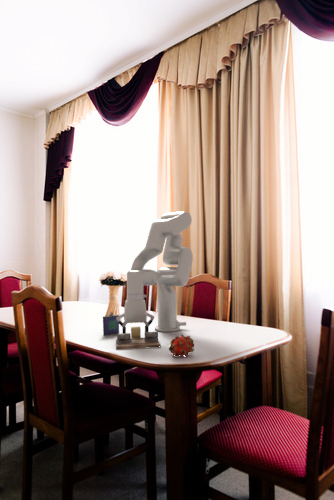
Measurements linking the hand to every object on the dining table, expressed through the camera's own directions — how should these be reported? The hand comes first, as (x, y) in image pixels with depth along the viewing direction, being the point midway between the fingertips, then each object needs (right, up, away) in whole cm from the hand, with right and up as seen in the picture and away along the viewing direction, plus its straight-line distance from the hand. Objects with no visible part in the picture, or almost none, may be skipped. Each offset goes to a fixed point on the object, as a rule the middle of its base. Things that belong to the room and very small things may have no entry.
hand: (135, 335), depth 171 cm
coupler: (0, -2, 0) cm, 2 cm away
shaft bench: (+2, -1, -11) cm, 11 cm away
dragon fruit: (+20, -1, -31) cm, 37 cm away
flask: (-12, -2, +10) cm, 16 cm away
